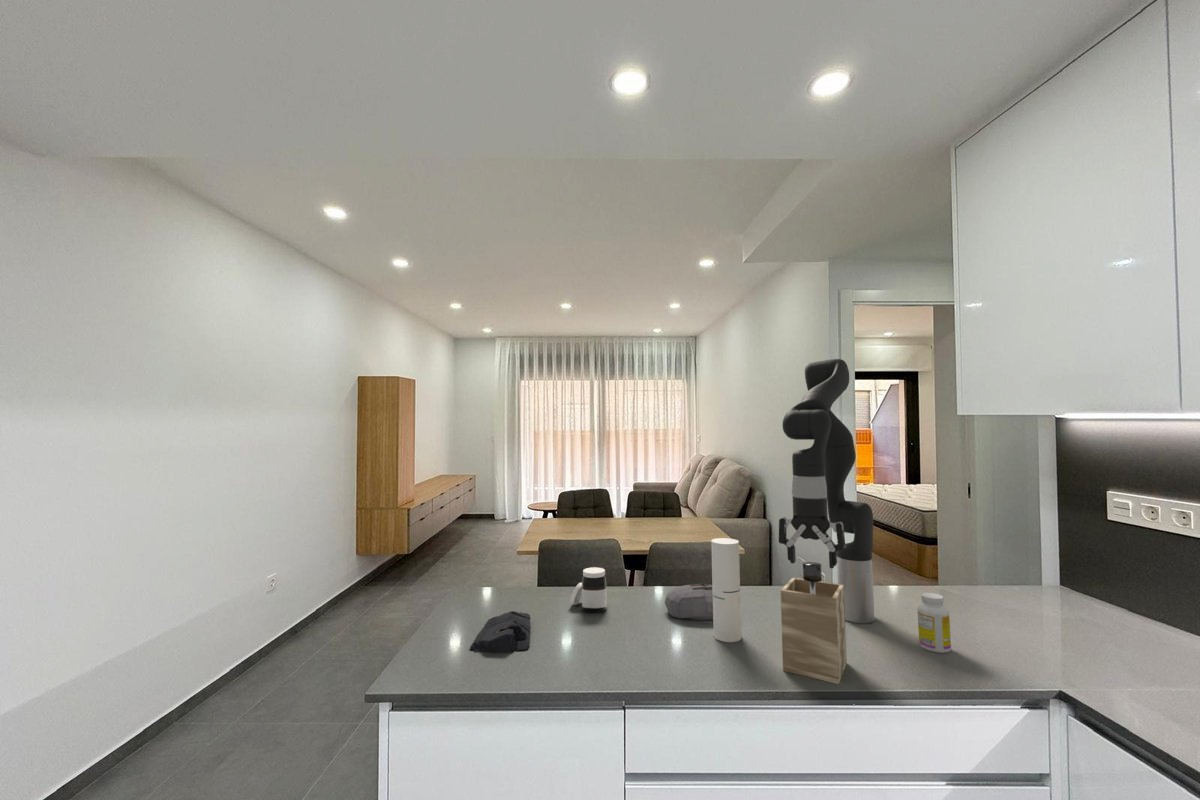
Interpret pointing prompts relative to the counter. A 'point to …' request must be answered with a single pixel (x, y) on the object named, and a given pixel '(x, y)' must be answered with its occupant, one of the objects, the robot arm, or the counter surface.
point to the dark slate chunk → (504, 634)
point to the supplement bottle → (934, 624)
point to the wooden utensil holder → (813, 630)
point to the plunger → (812, 574)
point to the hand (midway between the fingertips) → (812, 565)
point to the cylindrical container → (726, 589)
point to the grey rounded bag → (691, 602)
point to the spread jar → (591, 590)
